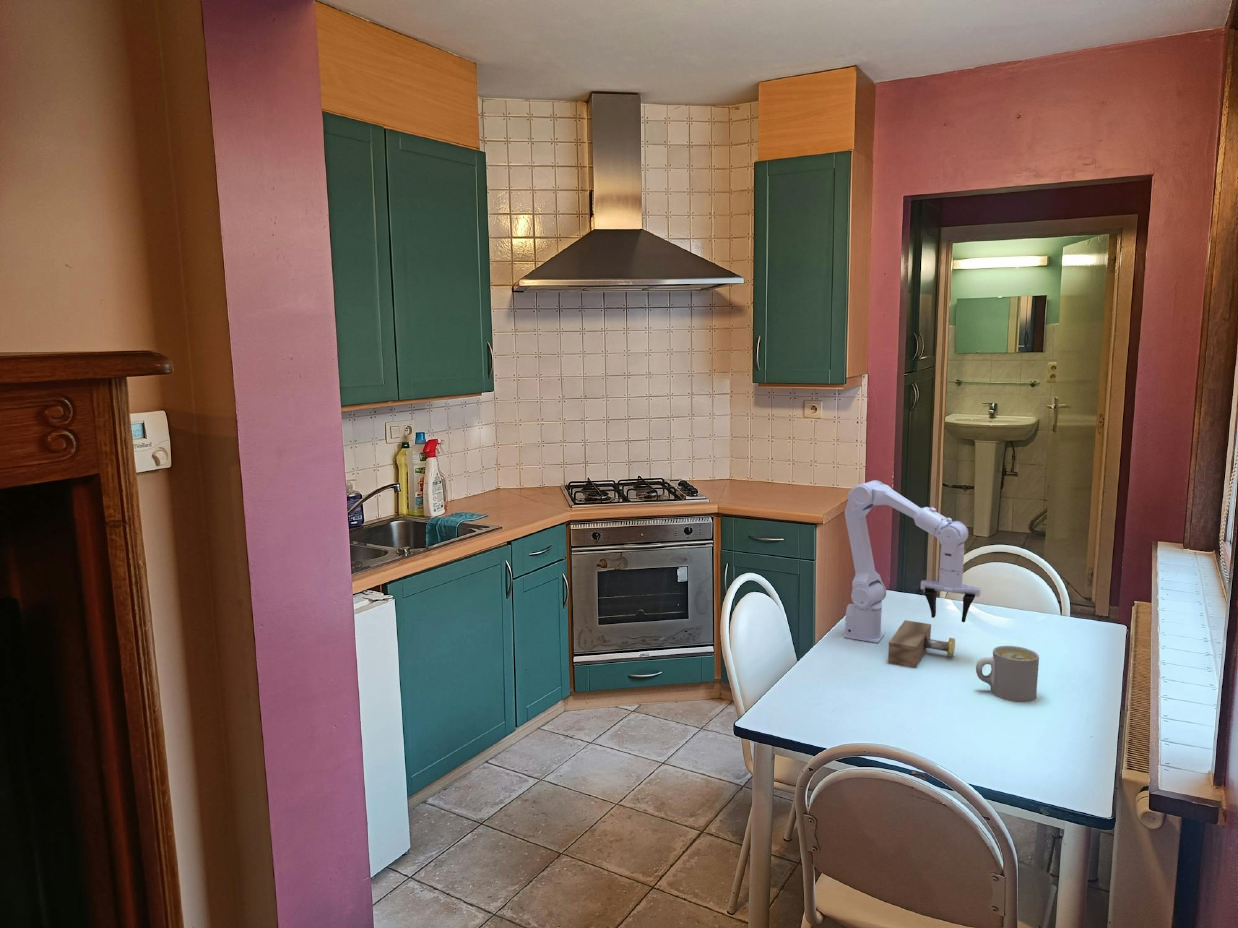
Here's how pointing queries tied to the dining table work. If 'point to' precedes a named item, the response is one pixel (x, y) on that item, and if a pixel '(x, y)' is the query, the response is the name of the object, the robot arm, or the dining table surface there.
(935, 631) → the dining table surface
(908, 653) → the drawbar beam
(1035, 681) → the coffee mug
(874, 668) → the dining table surface
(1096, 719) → the dining table surface
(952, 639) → the steel pin
